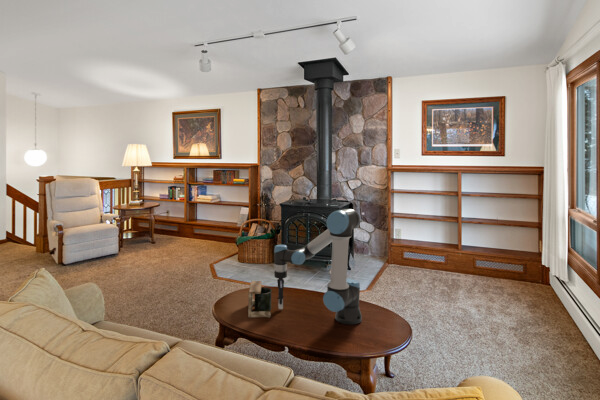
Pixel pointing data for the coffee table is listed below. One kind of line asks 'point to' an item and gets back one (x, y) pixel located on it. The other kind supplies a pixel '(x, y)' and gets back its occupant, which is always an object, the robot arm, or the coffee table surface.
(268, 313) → the wooden u-frame
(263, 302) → the mug
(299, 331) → the coffee table surface
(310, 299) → the coffee table surface
